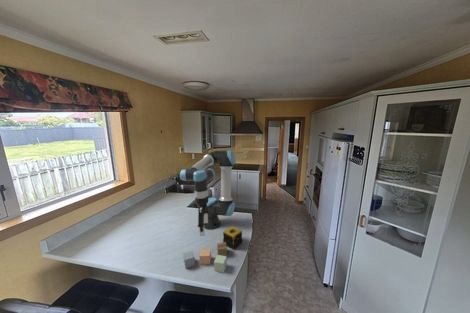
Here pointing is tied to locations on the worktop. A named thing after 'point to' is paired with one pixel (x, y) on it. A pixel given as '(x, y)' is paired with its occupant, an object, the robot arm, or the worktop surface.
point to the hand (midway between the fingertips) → (204, 228)
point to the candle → (232, 237)
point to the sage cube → (220, 263)
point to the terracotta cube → (205, 256)
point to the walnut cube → (222, 249)
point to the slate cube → (189, 259)
